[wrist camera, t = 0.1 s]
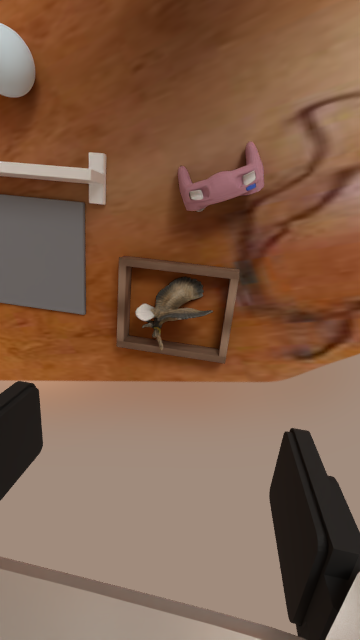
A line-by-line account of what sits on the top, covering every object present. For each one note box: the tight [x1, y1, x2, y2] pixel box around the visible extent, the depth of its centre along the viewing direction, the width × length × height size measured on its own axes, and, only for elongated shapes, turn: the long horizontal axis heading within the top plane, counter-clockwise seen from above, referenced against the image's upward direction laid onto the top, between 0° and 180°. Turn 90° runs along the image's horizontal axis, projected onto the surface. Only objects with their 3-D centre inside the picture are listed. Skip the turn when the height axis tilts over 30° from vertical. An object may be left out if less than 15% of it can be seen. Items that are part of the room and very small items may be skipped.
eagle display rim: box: [117, 256, 240, 363], centre depth 41 cm, size 13×16×2 cm
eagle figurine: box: [135, 277, 213, 351], centre depth 39 cm, size 8×7×9 cm
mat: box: [0, 194, 86, 315], centre depth 42 cm, size 16×16×1 cm
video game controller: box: [178, 142, 264, 212], centre depth 34 cm, size 10×5×7 cm, turn 106°
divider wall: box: [0, 152, 106, 205], centre depth 37 cm, size 6×22×4 cm, turn 85°
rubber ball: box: [0, 23, 35, 97], centre depth 33 cm, size 6×6×6 cm
